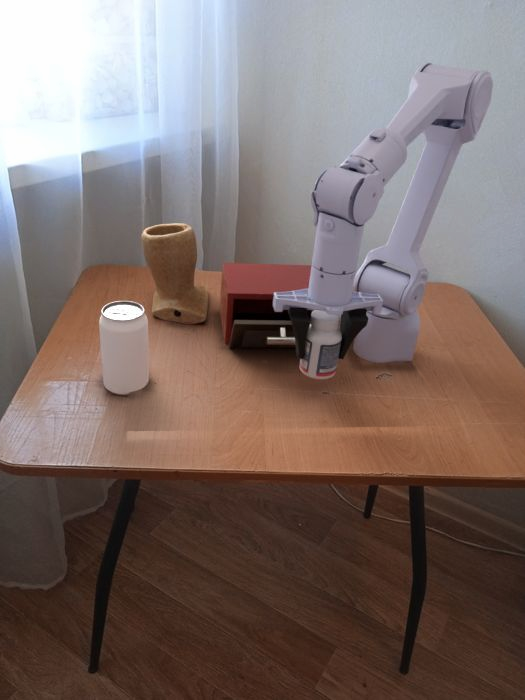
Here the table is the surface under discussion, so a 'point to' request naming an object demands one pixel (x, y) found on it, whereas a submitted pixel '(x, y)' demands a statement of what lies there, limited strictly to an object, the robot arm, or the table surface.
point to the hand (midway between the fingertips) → (319, 355)
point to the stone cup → (174, 273)
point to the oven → (257, 291)
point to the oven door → (262, 334)
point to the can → (124, 347)
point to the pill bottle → (321, 346)
